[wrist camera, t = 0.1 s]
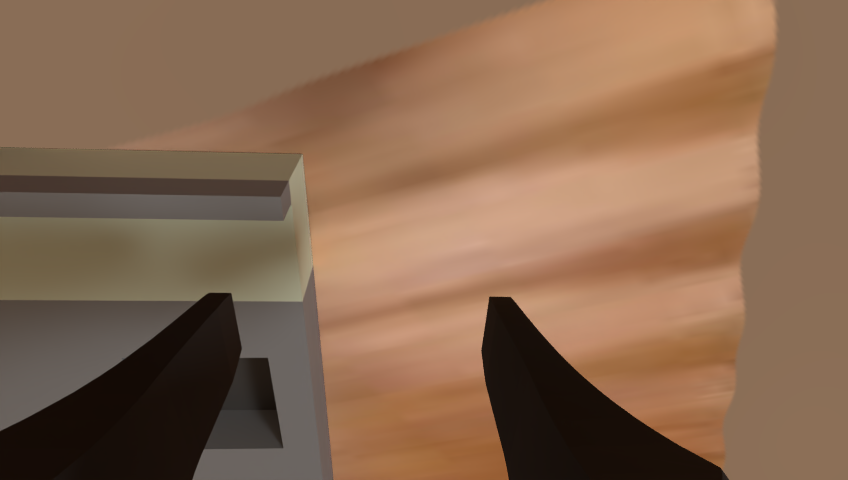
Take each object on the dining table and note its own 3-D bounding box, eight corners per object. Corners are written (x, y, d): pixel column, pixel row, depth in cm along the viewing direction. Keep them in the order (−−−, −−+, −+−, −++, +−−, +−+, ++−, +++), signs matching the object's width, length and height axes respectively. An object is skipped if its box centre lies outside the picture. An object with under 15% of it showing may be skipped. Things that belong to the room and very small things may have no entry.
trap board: (336, 510, 35) (328, 578, 32) (-44, 518, 34) (-102, 589, 30) (302, 153, 21) (280, 197, 17) (-353, 139, 20) (-537, 182, 16)
